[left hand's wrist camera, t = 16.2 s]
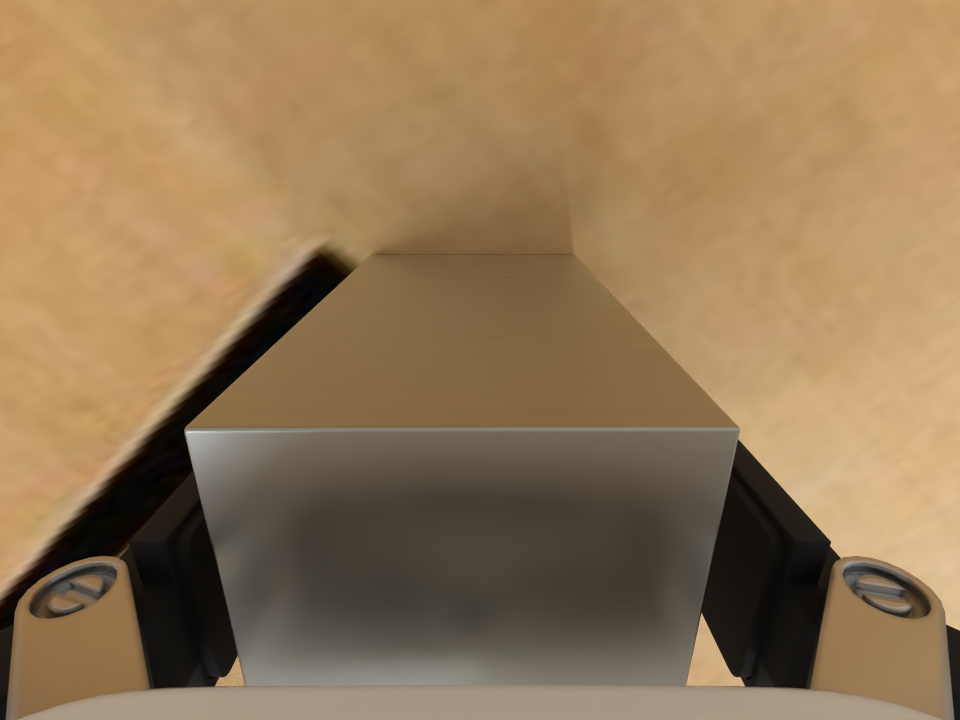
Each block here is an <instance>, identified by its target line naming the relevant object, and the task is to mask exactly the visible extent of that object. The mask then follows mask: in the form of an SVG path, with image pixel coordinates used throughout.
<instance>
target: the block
mask: <svg viewBox="0 0 960 720" xmlns="http://www.w3.org/2000/svg"><path fill="white" fill-rule="evenodd" d="M184 432H185V436H186V441H187V445H188V449H189V453H190V457H191V461H192V466H193V470H194V474H195V478H196V482H197V486H198V491H199V495H200V499H201V503H202V507H203V511H204V515H205V520H206V524H207V528H208V532H209V536H210V540H211V545H212V549H213V553H214V557H215V561H216V565H217V570H218V574H219V578H220V582H221V586H222V590H223V595H224V599H225V603H226V607H227V611H228V615H229V620H230V624H231V628H232V632H233V636H234V640H235V645H236V649H237V653H238V657H239V661H240V665H241V670H242V674H243V678H244V682H245V686H337V685H623V686H686V683H687V678H688V673H689V668H690V664H691V659H692V654H693V650H694V645H695V640H696V635H697V631H698V626H699V621H700V616H701V612H702V607H703V602H704V597H705V593H706V588H707V583H708V579H709V574H710V569H711V564H712V560H713V555H714V550H715V545H716V541H717V536H718V531H719V526H720V522H721V517H722V512H723V507H724V503H725V498H726V493H727V489H728V484H729V479H730V474H731V470H732V465H733V460H734V455H735V451H736V446H737V441H738V436H739V432H740V430H739V427H738V426H737V425H736V424H735V423H734V422H733V420H732V419H731V418H730V417H729V416H728V415H727V414H726V413H725V412H724V411H723V410H722V409H721V408H720V407H719V406H718V405H717V404H716V403H715V402H714V401H713V400H712V398H711V397H710V396H709V395H708V394H707V393H706V392H705V391H704V390H703V389H702V388H701V387H700V386H699V385H698V384H697V383H696V382H695V381H694V380H693V379H692V378H691V376H690V375H689V374H688V373H687V372H686V371H685V370H684V369H683V368H682V367H681V366H680V365H679V364H678V363H677V362H676V361H675V360H674V359H673V358H672V357H671V356H670V354H669V353H668V352H667V351H666V350H665V349H664V348H663V347H662V346H661V345H660V344H659V343H658V342H657V341H656V340H655V339H654V338H653V337H652V336H651V335H650V334H649V333H648V331H647V330H646V329H645V328H644V327H643V326H642V325H641V324H640V323H639V322H638V321H637V320H636V319H635V318H634V317H633V316H632V315H631V314H630V313H629V312H628V311H627V309H626V308H625V307H624V306H623V305H622V304H621V303H620V302H619V301H618V300H617V299H616V298H615V297H614V296H613V295H612V294H611V293H610V292H609V291H608V290H607V289H606V287H605V286H604V285H603V284H602V283H601V282H600V281H599V280H598V279H597V278H596V277H595V276H594V275H593V274H592V273H591V272H590V271H589V270H588V269H587V268H586V267H585V265H584V264H583V263H582V262H581V261H580V260H579V259H578V258H577V257H576V256H575V255H370V256H369V257H368V258H367V259H366V260H365V261H364V262H363V263H362V264H361V265H360V266H358V267H357V268H356V269H355V270H354V271H353V272H352V273H351V274H350V275H349V276H348V277H347V278H346V279H345V280H343V281H342V282H341V283H340V284H339V285H338V286H337V287H336V288H335V289H334V290H333V291H332V292H331V293H329V294H328V295H327V296H326V297H325V298H324V299H323V300H322V301H321V302H320V303H319V304H318V305H317V306H315V307H314V308H313V309H312V310H311V311H310V312H309V313H308V314H307V315H306V316H305V317H304V318H303V319H302V320H300V321H299V322H298V323H297V324H296V325H295V326H294V327H293V328H292V329H291V330H290V331H289V332H288V333H286V334H285V335H284V336H283V337H282V338H281V339H280V340H279V341H278V342H277V343H276V344H275V345H274V346H273V347H271V348H270V349H269V350H268V351H267V352H266V353H265V354H264V355H263V356H262V357H261V358H260V359H259V360H257V361H256V362H255V363H254V364H253V365H252V366H251V367H250V368H249V369H248V370H247V371H246V372H245V373H243V374H242V375H241V376H240V377H239V378H238V379H237V380H236V381H235V382H234V383H233V384H232V385H231V386H230V387H228V388H227V389H226V390H225V391H224V392H223V393H222V394H221V395H220V396H219V397H218V398H217V399H216V400H214V401H213V402H212V403H211V404H210V405H209V406H208V407H207V408H206V409H205V410H204V411H203V412H202V413H201V414H199V415H198V416H197V417H196V418H195V419H194V420H193V421H192V422H191V423H190V424H189V425H188V426H187V427H185V431H184Z"/></svg>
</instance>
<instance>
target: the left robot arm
mask: <svg viewBox="0 0 960 720" xmlns="http://www.w3.org/2000/svg"><path fill="white" fill-rule="evenodd" d="M129 544H130V547H129V548H128V549H127V550H126V551H125V552H124V554H123V555H122V556H121V557H120V558H119V559H118V558H116V557H108V556H100V557H92V558H87V559H84V560H80V561H76V562H73V563H71V564H69V565H66V566H64V567H62V568H59V569H57V570H55V571H54V572H52V573H50V574H49V575H47V576H45V577H44V578H42V579H41V580H39V581H38V582H37V583H36V584H35V585H33V586H32V587H31V588H30V589H28V591H27V592H26V593H25V594H24V596H23V597H22V598H21V599H20V601H19V603H18V605H17V608H16V611H15V620H14V625H12V626H10V627H7V628H5V629H3V630H1V631H0V720H960V631H959V630H957V629H955V628H953V627H950V626H948V625H946V620H945V611H944V608H943V605H942V603H941V601H940V599H939V598H938V597H937V596H936V594H935V593H934V592H933V591H932V589H930V588H929V587H928V586H927V585H925V584H924V583H923V582H922V581H921V580H919V579H918V578H916V577H915V576H913V575H911V574H910V573H908V572H906V571H905V570H903V569H901V568H898V567H896V566H894V565H891V564H889V563H887V562H884V561H880V560H876V559H873V558H868V557H860V556H852V557H844V558H842V559H841V558H840V557H839V556H838V555H837V554H836V552H835V551H834V550H833V549H832V548H831V547H830V544H831V541H830V540H829V539H828V538H827V537H826V536H825V535H824V534H823V533H822V531H821V530H820V529H819V528H818V527H817V526H816V525H815V524H814V523H813V522H812V520H811V519H810V518H809V517H808V516H807V515H806V514H805V513H804V512H803V510H802V509H801V508H800V507H799V506H798V505H797V504H796V503H795V502H794V500H793V499H792V498H791V497H790V496H789V495H788V494H787V493H786V492H785V491H784V489H783V488H782V487H781V486H780V485H779V484H778V483H777V482H776V481H775V479H774V478H773V477H772V476H771V475H770V474H769V473H768V472H767V471H766V470H765V468H764V467H763V466H762V465H761V464H760V463H759V462H758V461H757V460H756V458H755V457H754V456H753V455H752V454H751V453H750V452H749V451H748V450H747V449H746V447H745V446H744V445H743V444H742V443H741V442H740V441H739V440H738V441H737V446H736V451H735V455H734V460H733V465H732V470H731V474H730V479H729V484H728V489H727V493H726V498H725V503H724V507H723V512H722V517H721V522H720V526H719V531H718V536H717V541H716V545H715V550H714V555H713V560H712V564H711V569H710V574H709V579H708V583H707V588H706V593H705V597H704V602H703V607H702V614H703V617H704V619H705V621H706V623H707V625H708V627H709V629H710V631H711V633H712V635H713V637H714V639H715V641H716V643H717V646H718V648H719V650H720V652H721V654H722V656H723V658H724V660H725V662H726V664H727V666H728V668H729V670H730V672H731V673H732V674H733V676H735V677H741V679H742V681H743V683H744V685H745V687H740V686H623V685H337V686H220V687H215V685H216V683H217V681H218V679H219V677H225V676H227V674H228V673H229V672H230V670H231V668H232V666H233V664H234V662H235V660H236V658H237V656H238V653H237V649H236V645H235V640H234V636H233V632H232V628H231V624H230V620H229V615H228V611H227V607H226V603H225V599H224V595H223V590H222V586H221V582H220V578H219V574H218V570H217V565H216V561H215V557H214V553H213V549H212V545H211V540H210V536H209V532H208V528H207V524H206V520H205V515H204V511H203V507H202V503H201V499H200V495H199V491H198V486H197V482H196V478H195V474H194V471H193V472H192V473H191V474H190V475H189V476H188V477H187V478H186V479H185V481H184V482H183V483H182V484H181V485H180V486H179V487H178V488H177V489H176V491H175V492H174V493H173V494H172V495H171V496H170V497H169V498H168V499H167V500H166V502H165V503H164V504H163V505H162V506H161V507H160V508H159V509H158V510H157V512H156V513H155V514H154V515H153V516H152V517H151V518H150V519H149V520H148V521H147V523H146V524H145V525H144V526H143V527H142V528H141V529H140V530H139V531H138V533H137V534H136V535H135V536H134V537H133V538H132V539H131V540H130V541H129Z"/></svg>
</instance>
